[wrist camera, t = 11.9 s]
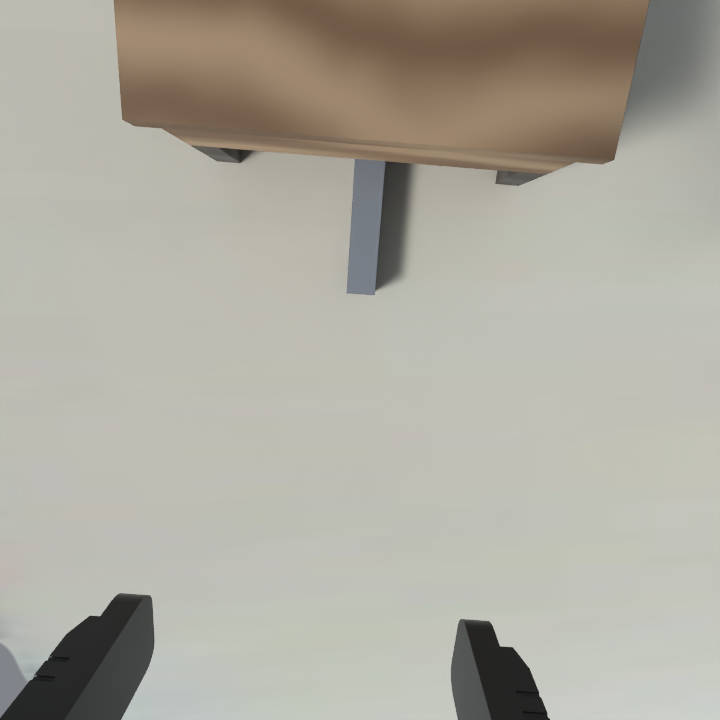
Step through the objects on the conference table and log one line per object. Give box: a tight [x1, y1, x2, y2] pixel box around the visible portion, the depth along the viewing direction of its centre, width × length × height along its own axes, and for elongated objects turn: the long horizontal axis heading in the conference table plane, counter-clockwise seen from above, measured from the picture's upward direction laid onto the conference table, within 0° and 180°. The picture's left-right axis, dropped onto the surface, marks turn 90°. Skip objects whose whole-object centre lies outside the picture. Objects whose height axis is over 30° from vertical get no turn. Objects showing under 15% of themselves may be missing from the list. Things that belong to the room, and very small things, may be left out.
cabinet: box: [114, 0, 650, 186], centre depth 27 cm, size 11×27×13 cm, turn 86°
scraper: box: [347, 159, 385, 295], centre depth 33 cm, size 23×10×3 cm, turn 176°
